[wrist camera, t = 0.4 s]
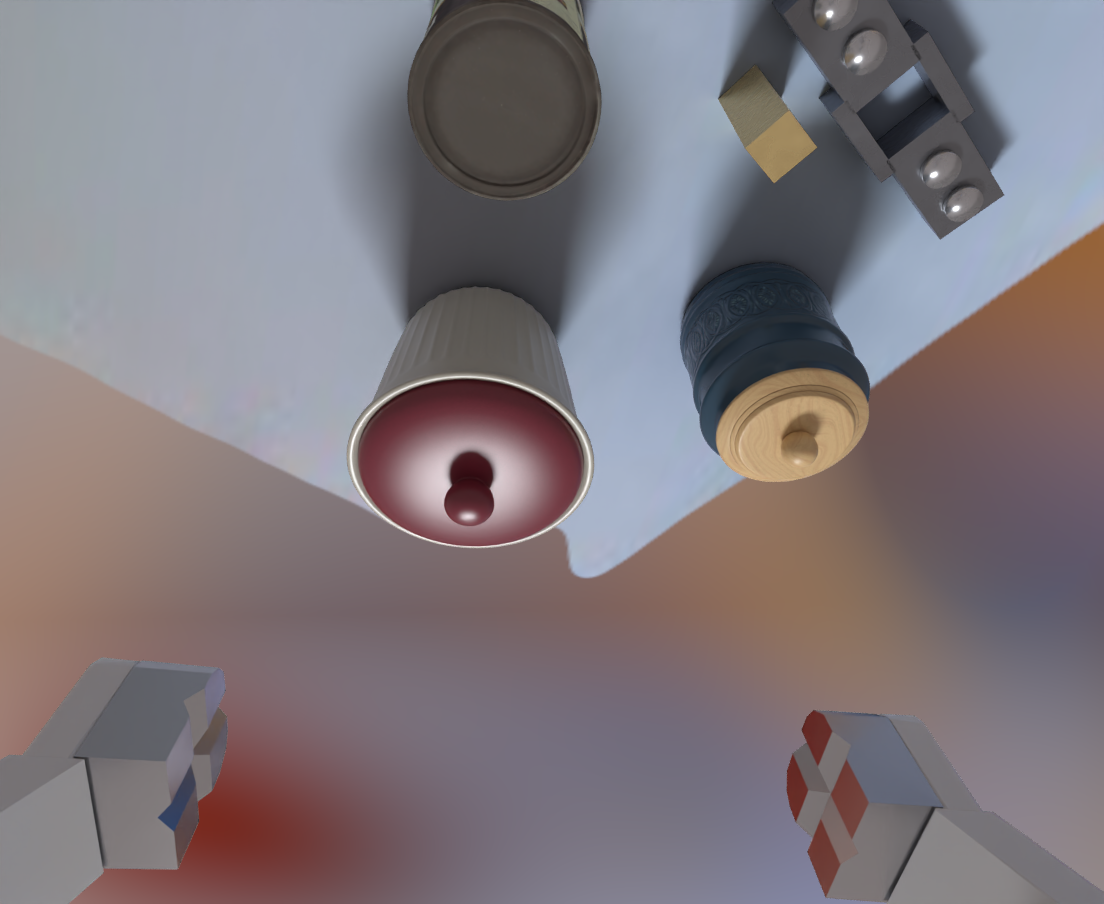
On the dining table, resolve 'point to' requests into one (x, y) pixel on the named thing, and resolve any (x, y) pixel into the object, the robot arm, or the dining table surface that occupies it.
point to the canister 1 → (473, 426)
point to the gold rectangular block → (766, 124)
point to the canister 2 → (773, 373)
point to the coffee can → (505, 95)
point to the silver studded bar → (924, 136)
